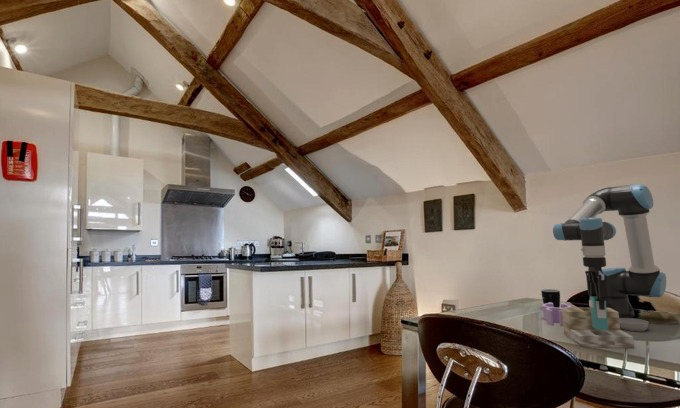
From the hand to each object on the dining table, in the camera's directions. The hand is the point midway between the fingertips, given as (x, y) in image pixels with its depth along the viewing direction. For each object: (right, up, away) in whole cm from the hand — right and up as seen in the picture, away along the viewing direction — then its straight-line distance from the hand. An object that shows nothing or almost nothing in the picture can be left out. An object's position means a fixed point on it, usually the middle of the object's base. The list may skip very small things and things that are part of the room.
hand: (599, 316), depth 147 cm
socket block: (+2, -11, +4) cm, 11 cm away
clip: (+4, -13, +36) cm, 38 cm away
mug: (+15, -14, +59) cm, 62 cm away
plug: (0, -5, 0) cm, 5 cm away
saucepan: (+23, -11, +17) cm, 31 cm away
